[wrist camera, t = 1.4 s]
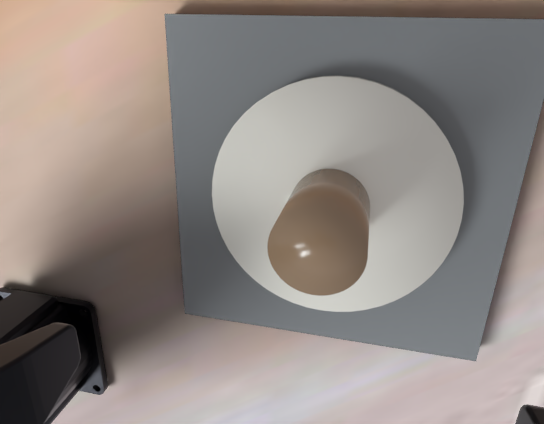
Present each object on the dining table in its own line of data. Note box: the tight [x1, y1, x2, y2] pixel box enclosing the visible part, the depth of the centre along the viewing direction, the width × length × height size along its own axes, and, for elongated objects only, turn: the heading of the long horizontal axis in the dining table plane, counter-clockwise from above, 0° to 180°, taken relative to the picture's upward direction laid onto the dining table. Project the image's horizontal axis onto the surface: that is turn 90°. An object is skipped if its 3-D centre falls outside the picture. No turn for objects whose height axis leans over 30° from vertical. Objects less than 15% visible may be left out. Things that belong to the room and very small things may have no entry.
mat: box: [165, 14, 544, 361], centre depth 18 cm, size 14×14×1 cm
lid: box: [212, 75, 464, 312], centre depth 16 cm, size 10×10×5 cm
